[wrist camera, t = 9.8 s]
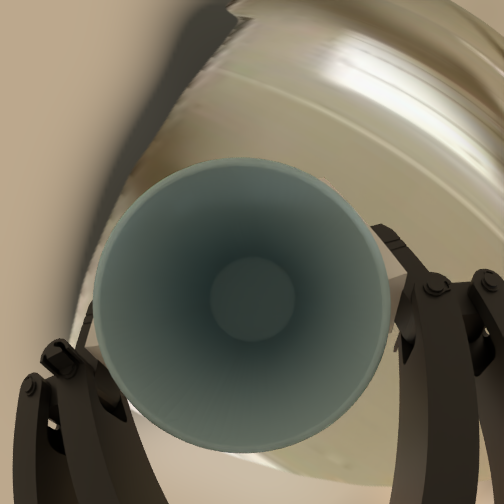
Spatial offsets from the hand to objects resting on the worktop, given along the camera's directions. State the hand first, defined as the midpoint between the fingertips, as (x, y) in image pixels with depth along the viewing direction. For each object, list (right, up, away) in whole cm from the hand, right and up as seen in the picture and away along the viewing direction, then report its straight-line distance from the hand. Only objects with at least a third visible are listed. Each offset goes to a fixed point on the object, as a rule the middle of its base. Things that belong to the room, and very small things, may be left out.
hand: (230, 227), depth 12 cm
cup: (+1, -4, +4) cm, 6 cm away
